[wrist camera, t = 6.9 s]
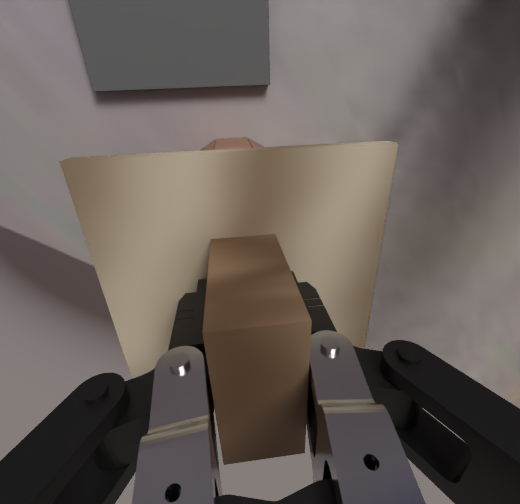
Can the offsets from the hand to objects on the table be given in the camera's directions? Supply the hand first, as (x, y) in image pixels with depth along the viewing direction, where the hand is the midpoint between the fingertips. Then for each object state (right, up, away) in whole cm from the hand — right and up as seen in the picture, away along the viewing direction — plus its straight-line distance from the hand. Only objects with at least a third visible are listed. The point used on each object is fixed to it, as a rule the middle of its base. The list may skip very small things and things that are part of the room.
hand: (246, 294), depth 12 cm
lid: (0, 0, +1) cm, 1 cm away
